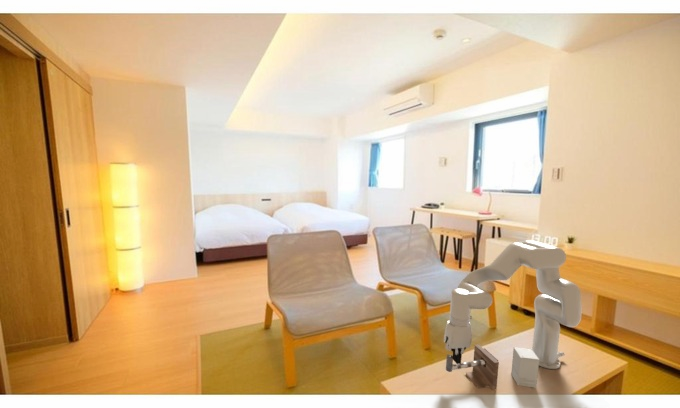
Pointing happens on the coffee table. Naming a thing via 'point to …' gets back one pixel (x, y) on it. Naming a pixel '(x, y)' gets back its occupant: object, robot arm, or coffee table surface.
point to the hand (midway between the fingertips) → (456, 361)
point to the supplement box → (525, 367)
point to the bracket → (484, 370)
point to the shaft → (451, 366)
